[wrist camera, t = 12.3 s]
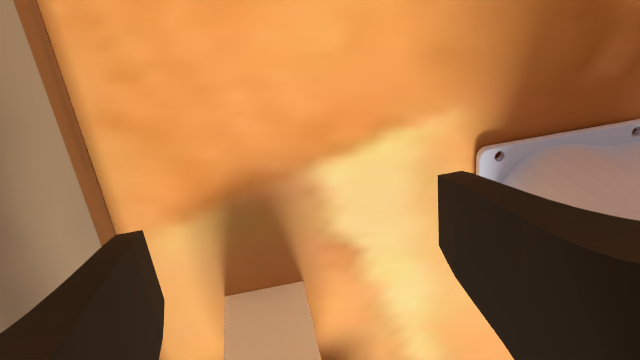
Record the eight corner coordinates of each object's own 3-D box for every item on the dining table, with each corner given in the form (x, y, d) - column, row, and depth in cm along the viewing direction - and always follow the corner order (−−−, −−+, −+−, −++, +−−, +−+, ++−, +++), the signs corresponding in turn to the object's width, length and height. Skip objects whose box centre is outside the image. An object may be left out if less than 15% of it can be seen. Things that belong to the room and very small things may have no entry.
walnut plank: (2, -99, 17) (-25, -106, 15) (197, 474, 30) (195, 507, 28) (-256, -70, 16) (-317, -73, 14) (58, 505, 29) (47, 542, 27)
